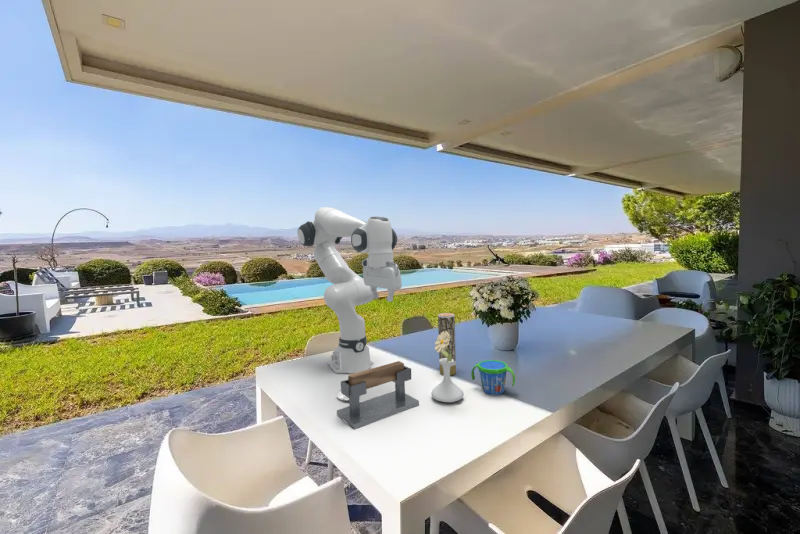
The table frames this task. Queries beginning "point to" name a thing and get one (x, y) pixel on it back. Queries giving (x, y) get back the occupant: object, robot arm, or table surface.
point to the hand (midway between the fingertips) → (382, 299)
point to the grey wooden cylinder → (448, 324)
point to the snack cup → (493, 376)
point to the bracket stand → (375, 402)
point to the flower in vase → (446, 374)
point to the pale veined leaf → (340, 395)
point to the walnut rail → (376, 375)
